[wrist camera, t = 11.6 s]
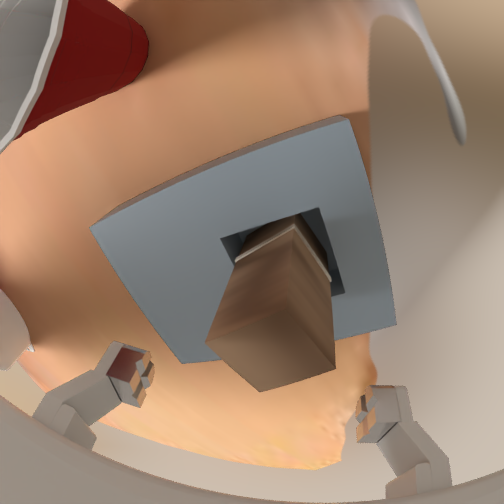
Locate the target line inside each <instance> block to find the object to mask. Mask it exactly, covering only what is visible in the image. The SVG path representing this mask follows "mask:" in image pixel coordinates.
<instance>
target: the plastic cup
mask: <svg viewBox="0 0 504 504" xmlns="http://www.w3.org/2000/svg"><path fill="white" fill-rule="evenodd" d="M148 45H149V41H148V39H147V36H146V33H145V30H144V29H143V28H142V26H141V25H139V24H138V23H137V22H136V21H135V20H134V19H132V18H131V17H129V16H128V15H126V14H125V13H124V12H122V11H121V10H120V9H119V8H118V7H116V6H115V5H114V4H112V3H111V2H109V1H108V0H0V154H1V153H2V152H3V151H4V150H5V149H6V147H7V146H8V145H9V144H10V143H11V142H12V141H13V140H16V139H18V138H20V137H21V136H22V135H23V134H24V133H26V132H28V131H30V130H33V129H35V128H36V127H37V126H38V125H40V124H42V123H44V122H46V121H48V120H50V119H52V118H54V117H56V116H59V115H61V114H63V113H65V112H68V111H70V110H72V109H75V108H77V107H79V106H82V105H84V104H87V103H90V102H92V101H95V100H96V99H98V98H99V97H101V96H104V95H107V94H110V93H113V92H116V91H118V90H119V89H121V88H122V87H124V86H126V85H127V84H129V83H131V82H132V81H133V80H134V79H135V78H136V77H137V75H138V74H139V73H140V72H141V71H142V69H143V66H144V64H145V62H146V59H147V57H148Z"/></svg>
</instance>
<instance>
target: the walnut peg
mask: <svg viewBox="0 0 504 504" xmlns="http://www.w3.org/2000/svg"><path fill="white" fill-rule="evenodd" d="M235 262H236V264H235V266H234V269H233V271H232V274H231V276H230V279H229V281H228V284H227V286H226V289H225V292H224V294H223V297H222V299H221V302H220V304H219V307H218V309H217V312H216V315H215V317H214V320H213V322H212V325H211V327H210V330H209V333H208V335H207V338H206V340H205V344H206V345H207V346H208V347H209V348H210V349H211V350H212V351H213V352H215V353H216V354H217V355H218V356H219V357H220V358H221V359H222V360H223V361H224V362H225V363H227V364H228V365H229V366H230V367H231V368H232V369H233V370H234V371H236V372H237V373H238V374H239V375H240V376H241V377H242V378H244V379H245V380H246V381H247V382H248V383H249V384H251V385H252V386H253V387H254V388H255V389H256V390H258V391H259V392H263V391H267V390H271V389H274V388H278V387H281V386H285V385H288V384H291V383H295V382H298V381H301V380H304V379H307V378H311V377H314V376H317V375H320V374H322V373H325V372H328V371H331V370H334V369H336V365H335V344H334V327H333V313H332V300H331V289H330V282H331V276H330V275H329V268H328V259H327V252H326V250H325V249H324V247H323V246H322V244H321V243H320V241H319V240H318V238H317V237H316V235H315V234H314V232H313V231H312V229H311V228H310V226H309V225H308V224H307V222H306V221H305V219H304V218H303V216H302V215H301V213H298V214H295V215H292V216H288V217H285V218H282V219H279V220H276V221H272V222H269V223H267V224H265V225H263V226H262V227H260V228H258V229H257V230H255V231H254V232H252V233H250V234H249V235H247V236H246V239H245V241H244V244H243V246H242V249H241V251H240V254H239V256H238V257H236V259H235Z"/></svg>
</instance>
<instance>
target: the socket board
mask: <svg viewBox="0 0 504 504" xmlns="http://www.w3.org/2000/svg"><path fill="white" fill-rule="evenodd" d="M298 213H301V215H302V216H303V218H304V219H305V221H306V222H307V224H308V225H309V226H310V228H311V229H312V231H313V232H314V234H315V235H316V237H317V238H318V240H319V241H320V243H321V244H322V246H323V247H324V249H325V250H326V252H327V259H328V268H329V275H330V276H331V282H330V289H331V300H332V313H333V327H334V340H339V339H343V338H347V337H352V336H356V335H360V334H364V333H368V332H372V331H376V330H379V329H383V328H386V327H390V326H394V325H396V316H395V308H394V301H393V294H392V287H391V281H390V275H389V269H388V264H387V259H386V254H385V248H384V243H383V238H382V234H381V229H380V225H379V221H378V216H377V212H376V208H375V204H374V200H373V196H372V192H371V188H370V185H369V181H368V178H367V174H366V171H365V167H364V164H363V161H362V157H361V154H360V151H359V148H358V145H357V142H356V139H355V136H354V133H353V130H352V127H351V124H350V121H349V119H347V118H345V117H343V116H341V115H337V116H334V117H331V118H327V119H324V120H321V121H318V122H315V123H312V124H309V125H305V126H302V127H300V128H297V129H294V130H291V131H288V132H285V133H282V134H279V135H277V136H274V137H271V138H268V139H266V140H263V141H260V142H258V143H255V144H253V145H250V146H247V147H245V148H242V149H240V150H237V151H235V152H232V153H230V154H227V155H225V156H223V157H220V158H218V159H215V160H213V161H211V162H208V163H206V164H204V165H202V166H199V167H197V168H195V169H193V170H190V171H188V172H186V173H184V174H182V175H179V176H177V177H175V178H173V179H171V180H169V181H167V182H165V183H163V184H160V185H158V186H156V187H154V188H152V189H150V190H148V191H146V192H144V193H142V194H140V195H138V196H136V197H134V198H133V199H131V200H129V201H127V202H125V203H123V204H121V205H119V206H117V207H116V208H115V209H113V210H112V211H110V212H109V213H108V214H106V215H105V216H104V217H102V218H101V219H100V220H98V221H97V222H96V223H94V224H93V225H92V226H91V227H89V229H90V230H91V232H92V234H93V236H94V237H95V239H96V241H97V243H98V244H99V246H100V248H101V249H102V251H103V253H104V254H105V256H106V258H107V259H108V261H109V262H110V264H111V266H112V267H113V269H114V270H115V272H116V274H117V275H118V277H119V278H120V280H121V281H122V283H123V284H124V286H125V287H126V289H127V290H128V292H129V293H130V295H131V296H132V298H133V299H134V301H135V302H136V304H137V305H138V306H139V308H140V309H141V311H142V312H143V314H144V315H145V316H146V318H147V319H148V320H149V322H150V323H151V325H152V326H153V327H154V329H155V330H156V331H157V333H158V334H159V335H160V337H161V338H162V339H163V341H164V342H165V343H166V345H167V346H168V347H169V348H170V350H171V351H172V352H173V353H174V355H175V356H176V357H177V358H178V360H179V361H180V362H181V363H182V364H185V363H196V362H206V361H215V360H222V359H221V358H220V357H219V356H218V355H217V354H216V353H215V352H213V351H212V350H211V349H210V348H209V347H208V346H207V345H206V344H205V340H206V338H207V335H208V333H209V330H210V327H211V325H212V322H213V320H214V317H215V315H216V312H217V309H218V307H219V304H220V302H221V299H222V297H223V294H224V292H225V289H226V286H227V284H228V281H229V279H230V276H231V274H232V271H233V269H234V266H235V264H236V262H235V259H236V257H238V256H239V254H240V251H241V249H242V246H243V244H244V241H245V239H246V236H247V235H249V234H250V233H252V232H254V231H255V230H257V229H258V228H260V227H262V226H263V225H265V224H267V223H269V222H272V221H276V220H279V219H282V218H285V217H288V216H292V215H295V214H298Z"/></svg>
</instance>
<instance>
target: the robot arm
mask: <svg viewBox="0 0 504 504" xmlns="http://www.w3.org/2000/svg"><path fill="white" fill-rule="evenodd" d="M28 347H29V348H30V350H29V349H28ZM26 350H28V351H32V352H35V350H34V348H33V346H32V343H31V341H30V335H29V332H28V329H27V326H26V324H25V322H24V320H23V318H22V317H21V315H20V313H19V312H18V310H17V309H16V307H15V306H14V304H13V303H12V302H11V300H10V299H9V298H8V297H7V295H6V294H5V293H4V292H3V291H2V290H1V289H0V370H6V371H7V370H9V369H10V368H11V366H12V365H13V364H14V363H15V362H16V361H17V360H18V359H19V357H20V356H21V355H22V354H23V353H24V352H25V351H26ZM150 359H151V354H150V351H146V350H143V349H139V348H136V347H133V346H129V345H126V344H123V343H120V342H117V341H113V342H112V343H111V344H110V345H109V347H108V349H107V350H106V352H105V353H104V355H103V357H102V358H101V360H100V361H99V363H98V365H97V366H96V368H95V370H94V371H93V370H89V371H88V372H86V373H84V374H82V375H80V376H78V377H76V378H74V379H72V380H70V381H68V382H67V383H65V384H63V385H61V386H59V387H57V388H55V389H53V390H51V391H49V392H47V393H46V395H45V396H44V398H43V399H42V401H41V403H40V404H39V406H38V408H37V409H36V411H35V413H34V414H33V416H32V417H31V416H29V415H28V414H26V413H25V412H23V411H22V410H20V409H19V408H18V407H16V406H15V405H13V404H12V403H11V402H9V401H8V400H6V399H5V398H4V397H2V396H1V395H0V504H504V469H502V470H500V471H497V472H495V473H492V474H489V475H486V476H484V477H481V478H478V479H475V480H472V481H469V482H465V483H462V484H459V485H455V486H452V480H451V472H450V465H449V458H448V457H447V456H446V455H445V453H444V452H443V451H442V450H441V449H440V448H439V447H438V445H437V444H436V443H435V442H434V441H433V440H432V439H431V437H430V436H429V435H428V434H427V433H426V432H425V431H424V430H423V428H422V427H421V426H420V425H419V424H418V423H417V422H416V421H413V417H412V412H411V407H410V401H409V397H408V392H407V388H406V387H405V386H384V385H382V386H381V385H380V386H379V385H369V386H367V388H366V389H365V395H363V396H361V397H360V398H359V400H358V402H357V406H356V419H357V421H358V422H359V423H360V424H359V425H358V427H357V428H356V433H357V443H377V446H378V447H379V449H380V450H381V452H382V453H383V455H384V457H385V458H386V460H387V461H388V463H389V465H390V466H391V468H392V469H393V471H394V472H395V474H396V476H397V478H395V479H394V480H392V481H390V482H389V483H388V484H387V485H386V499H382V500H373V501H361V502H343V503H305V502H304V503H303V502H286V501H274V500H264V499H256V498H249V497H242V496H236V495H230V494H224V493H219V492H214V491H209V490H205V489H201V488H196V487H192V486H188V485H184V484H181V483H177V482H174V481H170V480H167V479H164V478H161V477H157V476H154V475H151V474H148V473H146V472H143V471H140V470H137V469H134V468H132V467H129V466H126V465H124V464H122V463H119V462H117V461H114V460H112V459H109V458H107V457H105V456H103V455H100V454H98V453H96V452H94V451H92V447H93V445H94V443H95V441H96V435H95V434H94V432H93V431H92V430H91V429H90V428H89V426H90V425H92V424H93V423H94V422H96V421H97V420H99V419H100V418H101V417H103V416H104V415H106V414H107V413H108V412H110V411H111V410H113V409H114V408H115V407H117V406H118V405H119V404H121V402H123V403H126V404H129V405H133V406H136V407H139V408H141V406H142V403H143V401H144V399H145V397H146V392H145V389H146V388H148V387H149V386H151V383H152V381H153V378H154V373H155V372H154V364H153V363H152V362H151V361H150Z"/></svg>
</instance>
